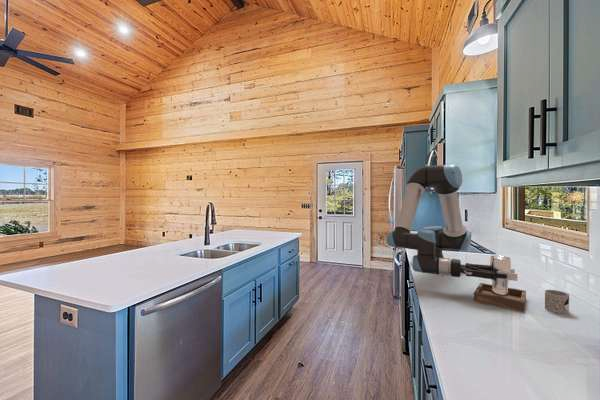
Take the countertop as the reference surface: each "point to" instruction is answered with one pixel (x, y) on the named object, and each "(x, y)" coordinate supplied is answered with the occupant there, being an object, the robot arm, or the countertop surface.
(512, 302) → the tray
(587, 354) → the countertop surface
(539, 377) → the countertop surface
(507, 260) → the beer glass
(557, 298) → the mug
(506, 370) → the countertop surface
